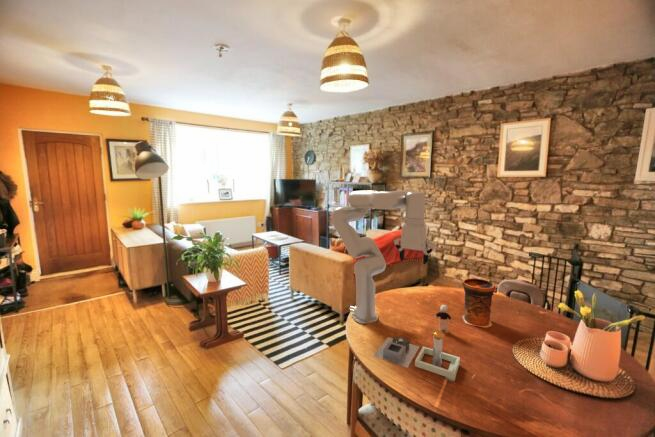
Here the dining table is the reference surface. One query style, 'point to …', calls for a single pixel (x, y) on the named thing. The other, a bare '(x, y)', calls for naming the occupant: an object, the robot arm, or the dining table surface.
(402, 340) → the tensioner block
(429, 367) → the rectangular frame
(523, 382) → the dining table surface
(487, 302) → the vessel
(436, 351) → the pin
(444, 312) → the grandmother figurine
